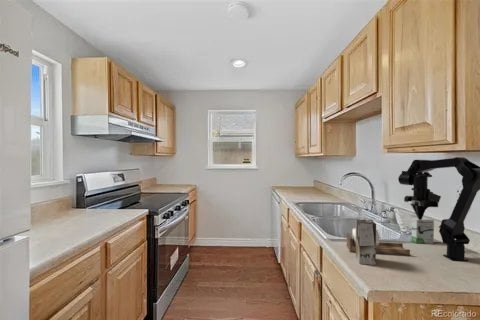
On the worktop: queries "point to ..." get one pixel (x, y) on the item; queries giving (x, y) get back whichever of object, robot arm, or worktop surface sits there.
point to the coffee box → (366, 242)
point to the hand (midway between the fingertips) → (420, 219)
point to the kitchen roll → (355, 238)
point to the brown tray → (382, 248)
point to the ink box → (423, 230)
